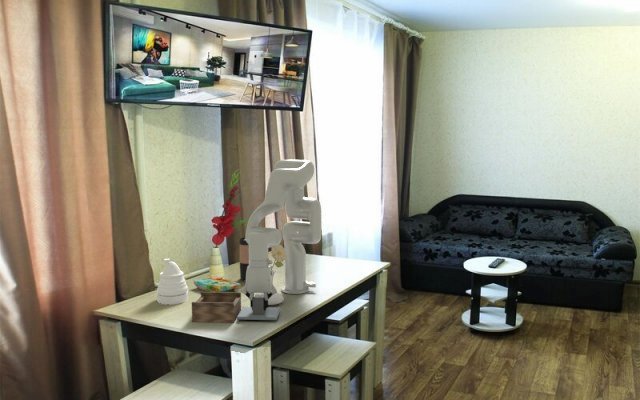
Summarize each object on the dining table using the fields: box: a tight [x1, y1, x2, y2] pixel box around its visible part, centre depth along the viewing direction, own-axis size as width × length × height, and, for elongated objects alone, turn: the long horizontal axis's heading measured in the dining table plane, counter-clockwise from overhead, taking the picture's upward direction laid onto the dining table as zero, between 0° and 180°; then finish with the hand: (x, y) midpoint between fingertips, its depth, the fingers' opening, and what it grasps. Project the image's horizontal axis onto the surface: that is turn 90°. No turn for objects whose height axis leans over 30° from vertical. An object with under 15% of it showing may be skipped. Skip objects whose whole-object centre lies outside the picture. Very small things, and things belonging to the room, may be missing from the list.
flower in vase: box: [260, 243, 287, 306], centre depth 236 cm, size 13×11×25 cm
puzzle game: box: [193, 275, 242, 292], centre depth 257 cm, size 12×5×20 cm
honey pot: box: [156, 258, 189, 305], centre depth 241 cm, size 13×13×18 cm
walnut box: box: [191, 291, 242, 324], centre depth 220 cm, size 16×14×8 cm
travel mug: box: [239, 237, 249, 282], centre depth 274 cm, size 8×8×20 cm
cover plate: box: [236, 293, 281, 321], centre depth 219 cm, size 15×12×7 cm
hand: (259, 308), depth 219 cm, fingers closed on cover plate, 4 cm apart
